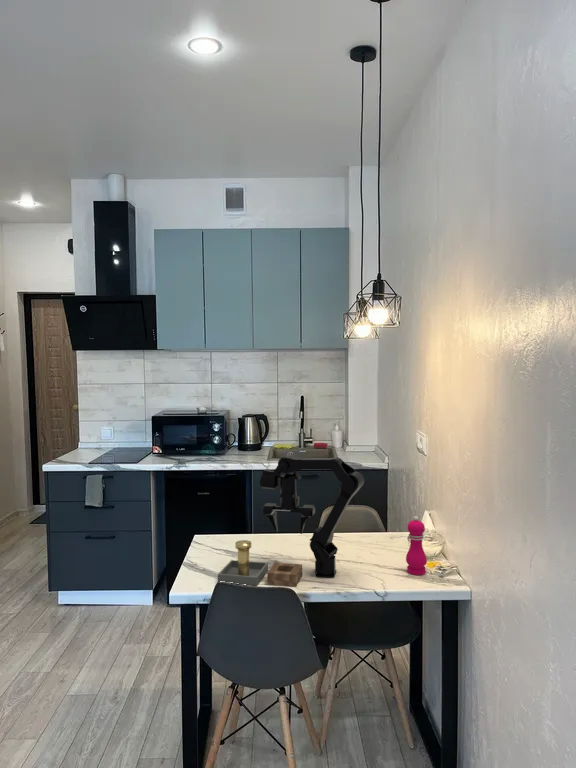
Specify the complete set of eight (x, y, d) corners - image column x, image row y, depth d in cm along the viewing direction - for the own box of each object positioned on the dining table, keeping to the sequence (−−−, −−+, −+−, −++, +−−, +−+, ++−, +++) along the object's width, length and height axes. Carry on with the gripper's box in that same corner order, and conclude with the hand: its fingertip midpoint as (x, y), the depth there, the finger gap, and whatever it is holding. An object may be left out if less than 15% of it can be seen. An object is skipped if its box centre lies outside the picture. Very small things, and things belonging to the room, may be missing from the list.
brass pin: (253, 572, 196) (253, 540, 195) (248, 578, 190) (248, 545, 190) (238, 571, 197) (238, 539, 197) (233, 577, 192) (233, 544, 191)
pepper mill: (424, 568, 199) (424, 513, 199) (429, 575, 192) (428, 518, 191) (404, 568, 199) (403, 513, 199) (408, 576, 192) (407, 519, 192)
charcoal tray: (268, 570, 199) (268, 562, 199) (257, 586, 185) (257, 577, 185) (231, 568, 202) (231, 560, 202) (217, 583, 189) (217, 574, 188)
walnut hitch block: (302, 575, 194) (302, 564, 194) (296, 586, 184) (296, 575, 184) (274, 573, 196) (274, 562, 196) (267, 584, 187) (267, 572, 186)
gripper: (317, 486, 206) (318, 527, 206) (269, 484, 210) (270, 525, 211) (312, 493, 195) (312, 537, 196) (261, 491, 199) (261, 534, 200)
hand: (289, 532), depth 201 cm, fingers open, 9 cm apart
